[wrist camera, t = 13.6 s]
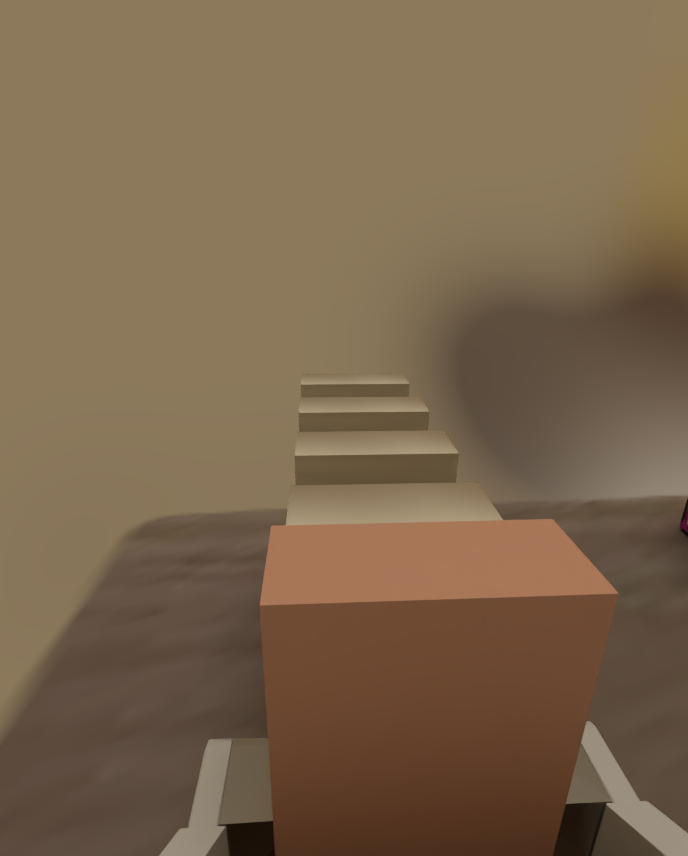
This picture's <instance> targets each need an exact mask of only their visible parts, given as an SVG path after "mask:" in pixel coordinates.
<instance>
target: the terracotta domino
mask: <svg viewBox="0 0 688 856" xmlns="http://www.w3.org/2000/svg"><path fill="white" fill-rule="evenodd" d="M618 594H619V593H618V592H617V591H616V590H615V589H614V588H613V587H612V586H611V584H610V583H609V582H608V581H607V580H606V579H605V578H604V576H603V575H602V574H601V573H600V572H599V571H598V570H597V569H596V567H595V566H594V565H593V564H592V563H591V562H590V561H589V560H588V558H587V557H586V556H585V555H584V554H583V553H582V552H581V551H580V549H579V548H578V547H577V546H576V545H575V544H574V543H573V541H572V540H571V539H570V538H569V537H568V536H567V535H566V534H565V532H564V531H563V530H562V529H561V528H560V527H559V526H558V525H557V523H556V522H555V521H554V520H553V519H537V520H494V521H452V522H409V523H367V524H324V525H281V526H271V533H270V539H269V546H268V552H267V559H266V566H265V572H264V579H263V586H262V592H261V599H260V621H261V637H262V653H263V669H264V685H265V701H266V717H267V733H268V748H269V764H270V780H271V796H272V812H273V828H274V844H275V856H553V853H554V849H555V845H556V841H557V837H558V833H559V829H560V825H561V821H562V817H563V813H564V809H565V805H566V801H567V797H568V793H569V789H570V785H571V781H572V777H573V773H574V769H575V765H576V761H577V757H578V753H579V749H580V745H581V741H582V737H583V733H584V729H585V725H586V721H587V717H588V713H589V709H590V706H591V702H592V698H593V694H594V690H595V686H596V682H597V678H598V674H599V670H600V666H601V662H602V658H603V654H604V650H605V646H606V642H607V638H608V634H609V630H610V626H611V622H612V618H613V614H614V610H615V606H616V602H617V598H618Z"/></svg>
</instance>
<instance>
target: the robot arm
mask: <svg viewBox="0 0 688 856" xmlns="http://www.w3.org/2000/svg"><path fill="white" fill-rule="evenodd" d="M159 856H275V844H274V828H273V812H272V796H271V780H270V764H269V748H268V738H237V739H234V738H232V739H209V741H208V743H207V746H206V748H205V752H204V756H203V761H202V765H201V770H200V775H199V779H198V784H197V788H196V793H195V797H194V802H193V806H192V811H191V815H190V820H189V824H188V828H180V829H179V830H178V832H177V833H176V834H175V836H174V837H173V838H172V839H171V841H170V842H169V843H168V845H167V846H166V847H165V848H164V850H163V851H162V852H161V854H160V855H159ZM553 856H688V833H687V832H685V831H684V830H683V829H682V828H680V827H679V826H678V825H677V824H675V823H674V822H673V821H672V820H670V819H669V818H668V817H667V816H665V815H664V814H663V813H662V812H660V811H659V810H658V809H657V808H655V807H654V806H653V805H652V804H650V803H649V802H648V801H640V800H639V798H638V797H637V795H636V793H635V792H634V790H633V788H632V787H631V785H630V783H629V782H628V780H627V778H626V777H625V775H624V773H623V772H622V770H621V768H620V767H619V765H618V763H617V762H616V760H615V758H614V757H613V755H612V753H611V752H610V750H609V748H608V747H607V745H606V743H605V742H604V740H603V738H602V737H601V735H600V733H599V732H598V730H597V728H596V727H595V726H594V725H593V724H592V723H591V722H589V721H586V725H585V729H584V733H583V737H582V741H581V745H580V749H579V753H578V757H577V761H576V765H575V769H574V773H573V777H572V781H571V785H570V789H569V793H568V797H567V801H566V805H565V809H564V813H563V817H562V821H561V825H560V829H559V833H558V837H557V841H556V845H555V849H554V853H553Z"/></svg>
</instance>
